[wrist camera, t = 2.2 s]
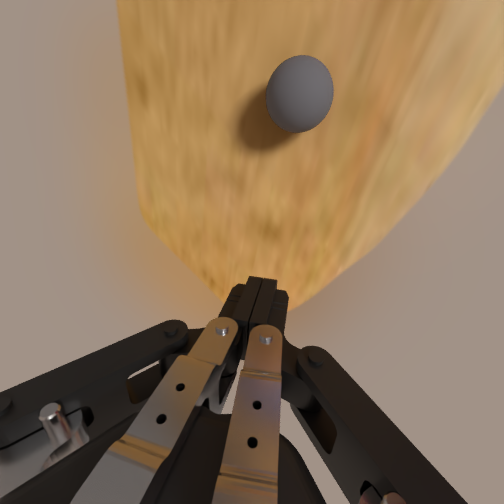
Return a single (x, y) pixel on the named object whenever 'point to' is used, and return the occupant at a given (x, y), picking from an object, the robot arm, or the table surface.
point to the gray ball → (299, 93)
